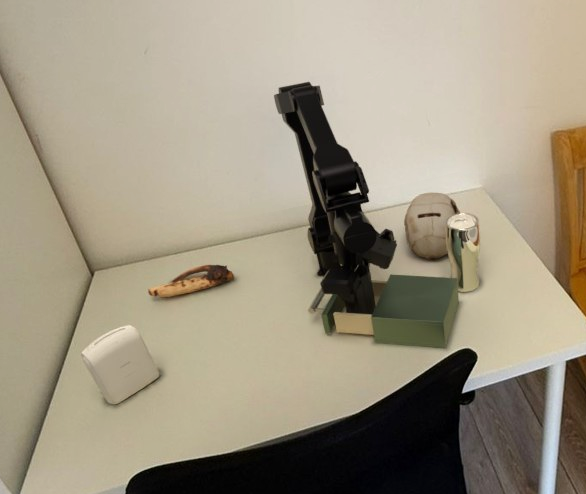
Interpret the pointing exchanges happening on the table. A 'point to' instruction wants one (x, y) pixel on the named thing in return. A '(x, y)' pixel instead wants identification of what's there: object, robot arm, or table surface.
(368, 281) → the black cup
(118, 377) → the photo printer
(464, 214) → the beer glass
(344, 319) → the drawer
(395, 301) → the green box
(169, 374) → the table surface
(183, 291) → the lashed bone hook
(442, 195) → the coin bank
